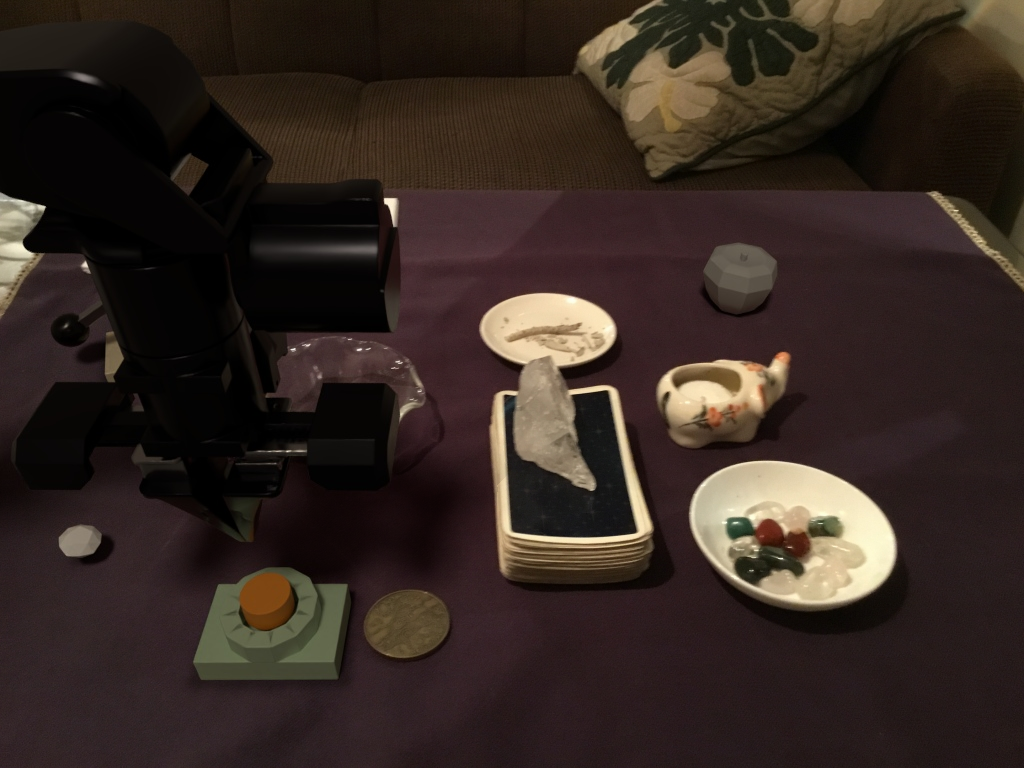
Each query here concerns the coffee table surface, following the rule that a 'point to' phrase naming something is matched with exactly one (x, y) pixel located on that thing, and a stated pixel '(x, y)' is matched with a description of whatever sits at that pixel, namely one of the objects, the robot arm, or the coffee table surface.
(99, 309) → the press lever
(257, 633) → the button block
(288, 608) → the button
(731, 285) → the apple
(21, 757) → the coffee table surface
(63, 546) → the gemstone
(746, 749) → the coffee table surface
